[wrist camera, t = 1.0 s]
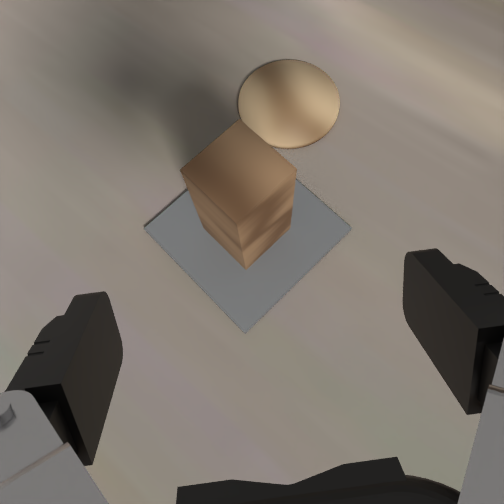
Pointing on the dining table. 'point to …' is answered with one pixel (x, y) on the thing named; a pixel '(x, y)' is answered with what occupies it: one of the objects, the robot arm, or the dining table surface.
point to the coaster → (289, 103)
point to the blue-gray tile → (263, 269)
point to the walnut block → (242, 192)
